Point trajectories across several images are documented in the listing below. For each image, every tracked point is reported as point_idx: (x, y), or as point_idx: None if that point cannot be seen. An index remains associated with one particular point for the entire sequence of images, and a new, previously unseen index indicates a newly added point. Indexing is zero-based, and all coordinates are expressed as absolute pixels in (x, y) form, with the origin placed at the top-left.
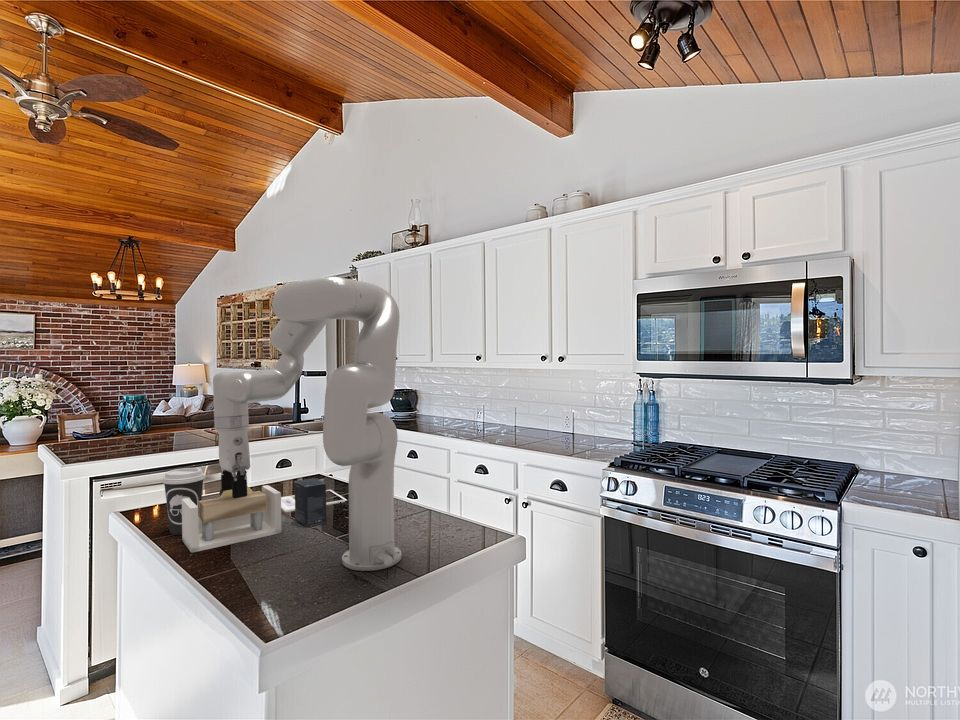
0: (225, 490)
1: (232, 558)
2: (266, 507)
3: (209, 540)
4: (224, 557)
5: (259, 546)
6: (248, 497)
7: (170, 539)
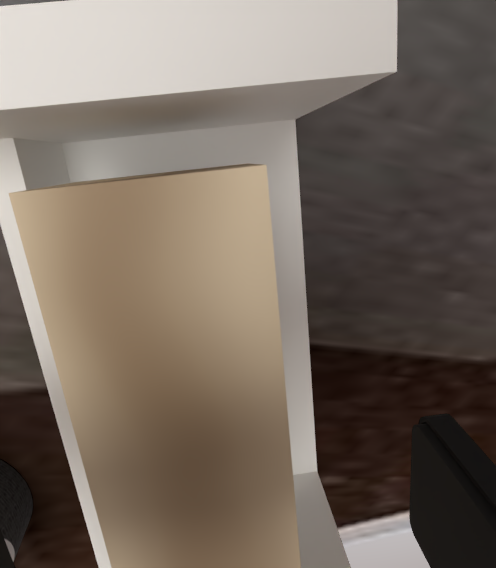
0: (5, 557)
1: (483, 356)
2: (101, 128)
3: None
4: (450, 380)
5: (421, 236)
6: (265, 348)
7: (83, 544)
